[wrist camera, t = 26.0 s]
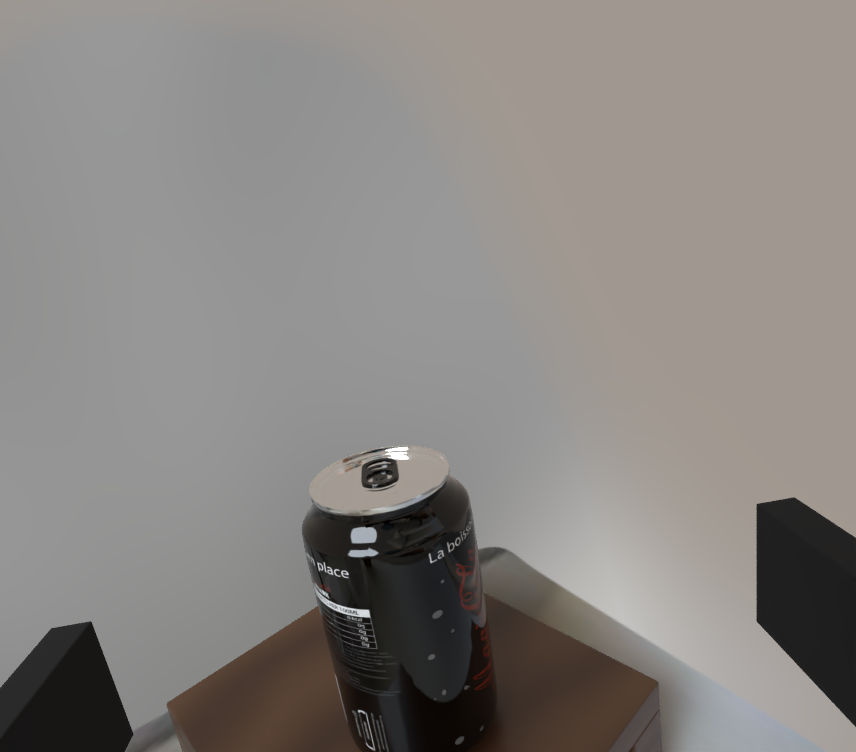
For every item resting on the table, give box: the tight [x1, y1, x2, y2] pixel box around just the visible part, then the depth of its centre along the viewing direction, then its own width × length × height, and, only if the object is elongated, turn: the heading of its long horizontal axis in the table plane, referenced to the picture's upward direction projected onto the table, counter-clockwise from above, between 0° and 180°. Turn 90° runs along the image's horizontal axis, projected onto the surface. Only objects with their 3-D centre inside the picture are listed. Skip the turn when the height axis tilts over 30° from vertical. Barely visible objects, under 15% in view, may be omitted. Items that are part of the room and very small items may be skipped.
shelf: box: [167, 593, 662, 752], centre depth 27 cm, size 18×16×6 cm
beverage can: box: [302, 446, 498, 752], centre depth 23 cm, size 7×7×12 cm
